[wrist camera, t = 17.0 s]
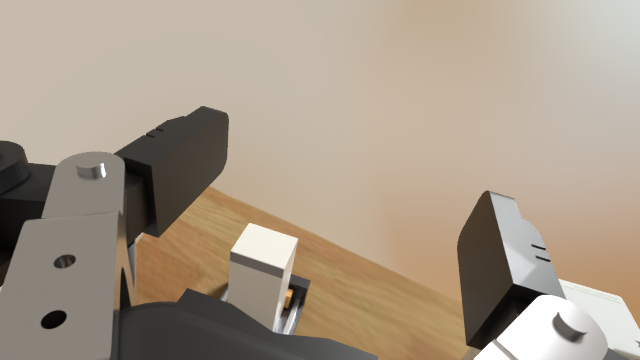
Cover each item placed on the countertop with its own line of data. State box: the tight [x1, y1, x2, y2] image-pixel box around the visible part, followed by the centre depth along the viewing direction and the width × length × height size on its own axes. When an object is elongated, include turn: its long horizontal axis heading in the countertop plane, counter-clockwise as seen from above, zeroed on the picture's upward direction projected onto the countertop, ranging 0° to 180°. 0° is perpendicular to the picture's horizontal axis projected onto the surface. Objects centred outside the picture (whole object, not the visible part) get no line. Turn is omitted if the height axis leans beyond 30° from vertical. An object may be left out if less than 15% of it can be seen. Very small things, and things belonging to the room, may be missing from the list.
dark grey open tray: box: [219, 274, 310, 335], centre depth 36 cm, size 9×15×4 cm, turn 165°
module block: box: [227, 223, 298, 332], centre depth 36 cm, size 5×4×11 cm
